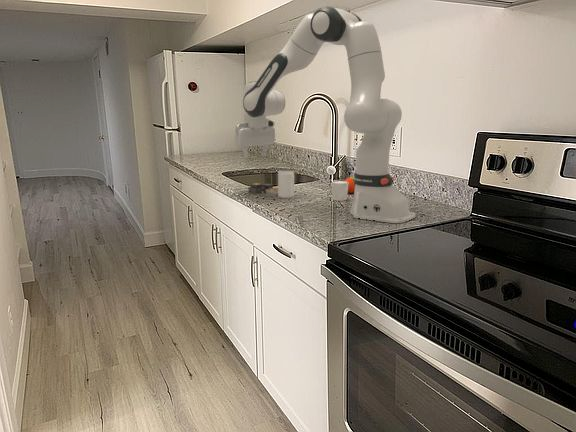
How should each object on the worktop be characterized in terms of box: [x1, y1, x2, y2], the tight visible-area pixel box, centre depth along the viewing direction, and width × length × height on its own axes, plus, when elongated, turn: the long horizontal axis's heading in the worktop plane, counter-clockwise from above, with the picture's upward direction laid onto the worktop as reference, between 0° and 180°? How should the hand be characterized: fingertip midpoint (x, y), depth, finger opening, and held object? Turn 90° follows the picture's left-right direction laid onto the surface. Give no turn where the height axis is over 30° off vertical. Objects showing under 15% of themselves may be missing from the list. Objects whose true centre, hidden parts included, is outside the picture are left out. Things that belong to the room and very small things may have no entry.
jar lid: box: [265, 187, 278, 196], centre depth 192 cm, size 9×9×1 cm
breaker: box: [250, 183, 262, 188], centre depth 192 cm, size 4×3×2 cm
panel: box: [247, 183, 278, 198], centre depth 192 cm, size 14×12×4 cm
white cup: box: [331, 180, 349, 202], centre depth 182 cm, size 7×7×7 cm
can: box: [277, 168, 295, 199], centre depth 183 cm, size 6×6×12 cm
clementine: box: [344, 176, 355, 194], centre depth 193 cm, size 8×7×7 cm
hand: (255, 156), depth 189 cm, fingers open, 8 cm apart
